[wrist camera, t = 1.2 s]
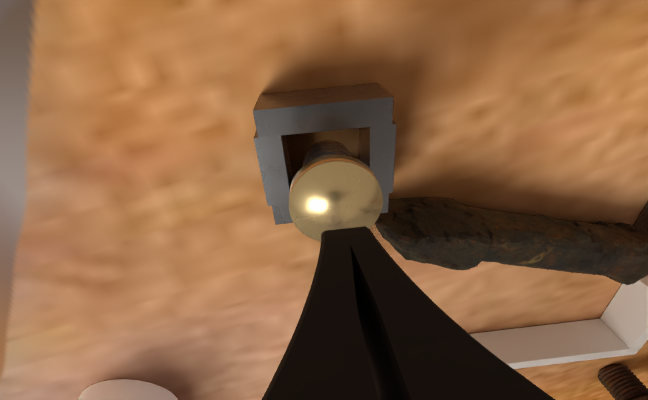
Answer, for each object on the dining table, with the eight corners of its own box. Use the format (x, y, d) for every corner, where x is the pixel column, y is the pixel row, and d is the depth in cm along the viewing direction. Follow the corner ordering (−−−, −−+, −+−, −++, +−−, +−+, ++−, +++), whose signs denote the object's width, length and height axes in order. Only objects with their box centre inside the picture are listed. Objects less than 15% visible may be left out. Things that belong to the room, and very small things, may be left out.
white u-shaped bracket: (605, 323, 29) (635, 354, 26) (313, 358, 28) (315, 393, 25) (641, 271, 25) (680, 300, 22) (305, 309, 24) (306, 344, 22)
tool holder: (637, 242, 23) (679, 271, 20) (291, 281, 22) (290, 315, 20) (760, 46, 16) (848, 53, 13) (256, 94, 15) (248, 110, 13)
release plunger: (364, 191, 16) (381, 237, 12) (295, 199, 16) (295, 247, 12) (363, 124, 14) (384, 158, 11) (285, 132, 14) (282, 168, 10)
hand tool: (623, 214, 22) (695, 258, 18) (585, 255, 24) (643, 303, 20) (381, 162, 18) (405, 203, 14) (360, 216, 20) (376, 264, 16)
